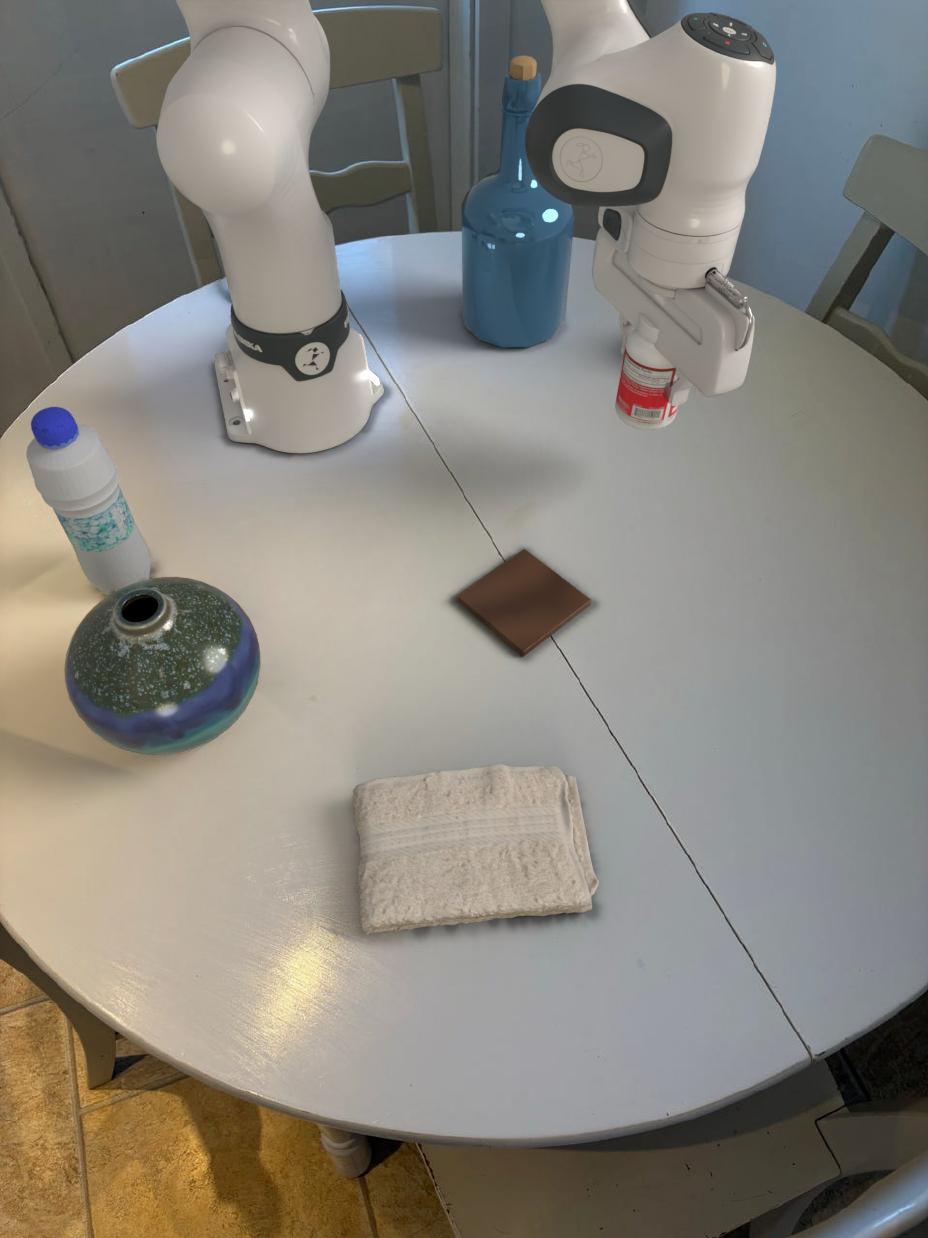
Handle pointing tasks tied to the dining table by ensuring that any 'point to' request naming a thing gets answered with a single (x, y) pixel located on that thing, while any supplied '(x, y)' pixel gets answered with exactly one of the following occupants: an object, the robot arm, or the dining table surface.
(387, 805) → the washcloth
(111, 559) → the bottle
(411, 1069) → the dining table surface
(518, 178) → the wine bottle
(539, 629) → the coaster
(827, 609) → the dining table surface
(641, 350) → the pill bottle
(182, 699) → the vase
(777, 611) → the dining table surface
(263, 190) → the robot arm
